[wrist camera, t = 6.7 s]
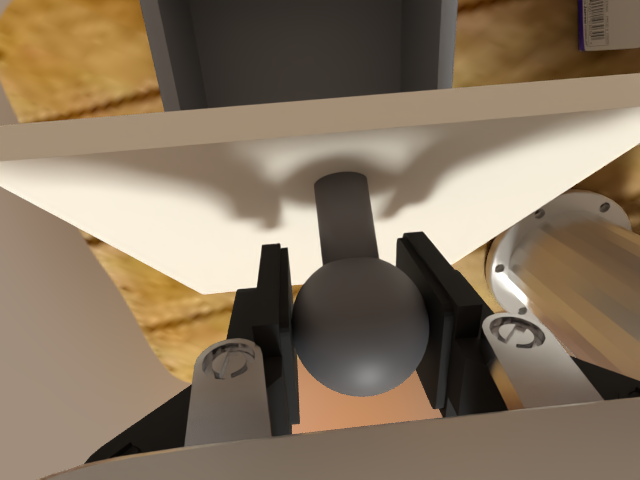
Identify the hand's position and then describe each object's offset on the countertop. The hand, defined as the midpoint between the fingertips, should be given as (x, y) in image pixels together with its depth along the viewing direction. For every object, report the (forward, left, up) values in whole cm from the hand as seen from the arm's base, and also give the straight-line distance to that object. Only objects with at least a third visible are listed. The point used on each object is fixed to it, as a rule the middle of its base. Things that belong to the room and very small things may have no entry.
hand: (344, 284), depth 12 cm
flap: (0, 0, -5) cm, 5 cm away
